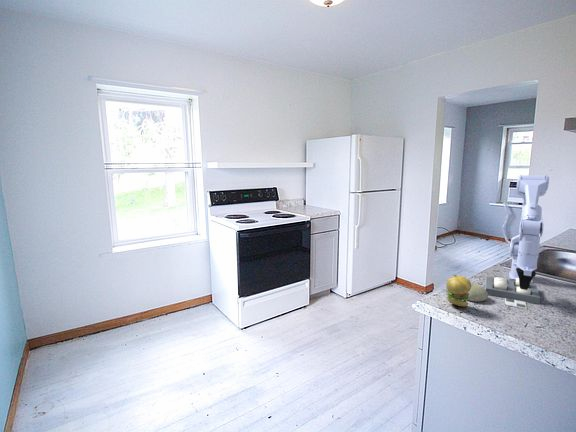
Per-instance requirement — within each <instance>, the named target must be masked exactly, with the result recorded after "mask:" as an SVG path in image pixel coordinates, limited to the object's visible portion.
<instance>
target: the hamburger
mask: <svg viewBox="0 0 576 432" xmlns="http://www.w3.org/2000/svg"><path fill="white" fill-rule="evenodd" d="M471 284H472V282H471V281H470V280H469V279H468V278H467V277H466V276H462V275H461V276H460V275H457V274H452V277H450V278H448V280H447V281H446V292H447V293H446V295H447V296H446V300H447V301H448V302H449V303H450V304H452V305H454V306H458V307H461V308H466V307H468V306H469V302H467V301H469V300H468V299H469V298H468V295H469V293H468V291H470V289H471Z"/></svg>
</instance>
